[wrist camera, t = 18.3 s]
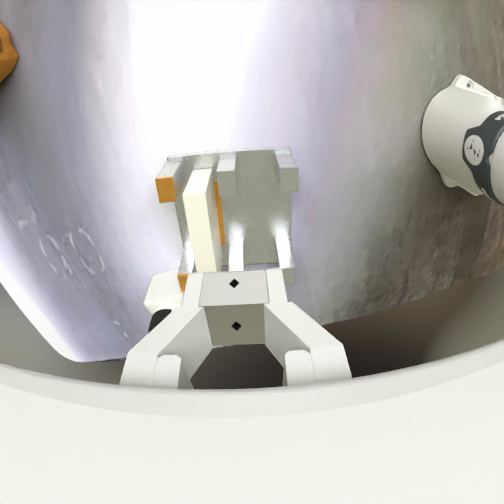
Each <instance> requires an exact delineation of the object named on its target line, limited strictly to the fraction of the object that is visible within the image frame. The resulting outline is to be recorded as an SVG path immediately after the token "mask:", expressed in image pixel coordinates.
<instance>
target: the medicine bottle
mask: <svg viewBox="0 0 504 504" xmlns="http://www.w3.org/2000/svg"><path fill="white" fill-rule="evenodd" d="M178 271H179V268H177V269H174V270H170V271H167V272H163V273H160V274H156V275H153V277H152V280H151V283H150V285H149V288H148V291H147V294H146V297H145V300H144V305H145V307H146V308H147V309H148V311H149V312H150V313H151V315H152V319H151V322H150V326H149V330H148V331H149V333H150V332H151V331H152V330H153V329H154V328H155V327H156V326H157V325H158V324H159V323H160V322H161V321H163V320H164V319H165V318H166V317H167V316H168V315H169V314H170V313H171V312H172V311H173V310H175V309H176V308H177V307H181V305H182V300H183V296H184V292H181V289H180V285H179V281H178V278H177V275H178Z"/></svg>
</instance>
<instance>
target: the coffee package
mask: <svg viewBox="0 0 504 504" xmlns="http://www.w3.org/2000/svg"><path fill="white" fill-rule="evenodd" d="M18 59H19V55H18V53H17V52H16V50H15V49H14V47H13V46H12V44H11V37H10V33H9V31H8V30H7V29H6V28H5V27H4V26H3V25H2V23H1V22H0V83H1V82H2V81H3V80H4V78H5V77H6V76H7V75H8V74H9V73H11V72H12V71H13V69H14V66H15V65H16V63H17V61H18Z"/></svg>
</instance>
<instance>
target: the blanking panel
mask: <svg viewBox="0 0 504 504" xmlns="http://www.w3.org/2000/svg"><path fill="white" fill-rule="evenodd" d="M182 196H183V202H184V207H185V213H186V219H187V224H188V230H189V235H190V240H191V245H192V250H193V255H194V260H195V265H196V270H197V272H219V271H222V259H223V254H222V246H221V238H220V231H219V223H218V215H217V206H216V198H215V190H214V181H213V172H212V168H210V169H199V170H193V172H192V174H191V176H190V179H189V181H188V183H187V185H186V188H185V190H184V192H183V195H182Z"/></svg>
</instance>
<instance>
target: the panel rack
mask: <svg viewBox="0 0 504 504" xmlns="http://www.w3.org/2000/svg"><path fill="white" fill-rule="evenodd" d="M167 161H168V162H167V163H166V165H165V166H164V167H163V169H162V170H161V172H160V173H159V174H158V176H157V177H156V179H155V181H156V186H157V191H158V196H159V201H160V203H163V202H174V201H175V206H176V211H177V217H178V222H179V227H180V232H181V237H182V241H183V246H184V252H183V256H182V259H181V263H180V267H179V271H178V275H177V278H178V281H179V285H180V289H181V292H184V291H185V286H186V281H187V277H188V275H189V273H193V272H197V270H196V265H195V260H194V255H193V250H192V245H191V240H190V235H189V230H188V224H187V219H186V213H185V207H184V202H183V196H182V195H183V192H184V190H185V188H186V185H187V183H188V181H189V179H190V176H191V174H192V172H193V170H199V169H210V168H212V172H213V181H214V190H215V198H216V206H217V215H218V223H219V231H220V238H221V246H222V254H223V259H222V266H223V265H229V267H228V271H244V264H258V263H275V262H277V266H278V268H280V267H281V269H282V272H283V277H284V283H285V285H294V284H295V264H294V259H293V255H292V251H291V247H290V192H298V166H297V164H296V162H295V160H294V159H293V157H292V155H291V153H290V147H289V146H287V147H261V148H243V149H228V150H216V151H205V152H195V153H186V154H177V155H169V156H168V158H167Z"/></svg>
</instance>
